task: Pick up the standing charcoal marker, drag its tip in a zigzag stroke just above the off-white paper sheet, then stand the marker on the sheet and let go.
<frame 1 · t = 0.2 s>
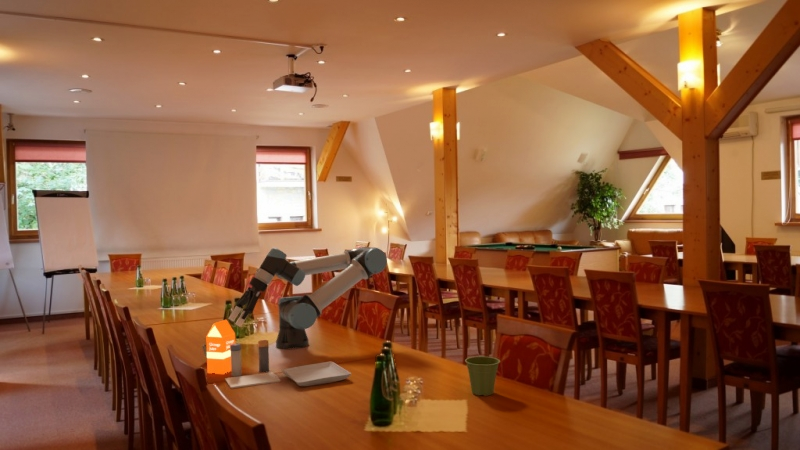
hand: (234, 322, 269), 16 cm above the table, tool tilted 35°, fingers open, 13 cm apart
salad plate: (316, 380, 236), on the table
flower pot: (215, 361, 267), on the table
paper: (252, 380, 235), on the table
plant pot: (483, 393, 213), on the table
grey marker: (236, 375, 243), on the table
orange juice: (221, 371, 251), on the table
marker: (264, 371, 249), on the table
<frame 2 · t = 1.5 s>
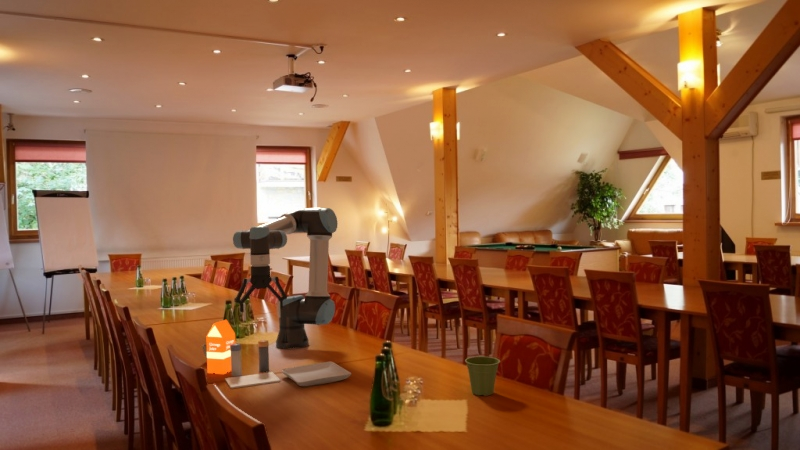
hand: (261, 318, 248), 21 cm above the table, tool pointing down, fingers open, 13 cm apart
nothing on the table moved.
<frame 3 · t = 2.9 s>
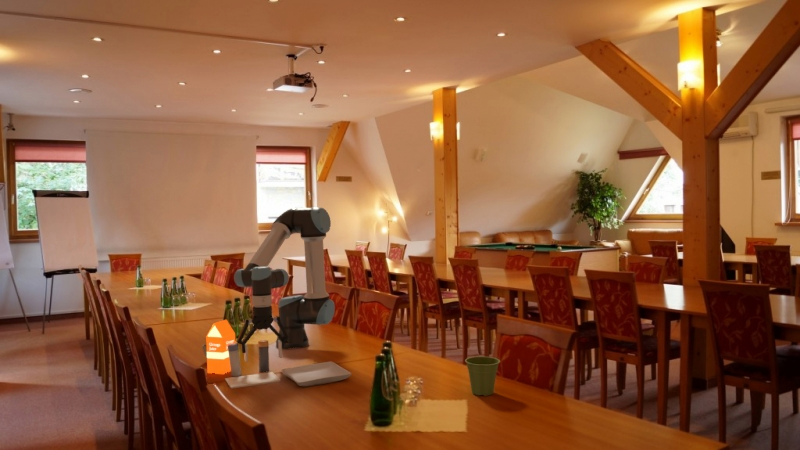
hand: (263, 359, 248), 5 cm above the table, tool pointing down, fingers open, 13 cm apart
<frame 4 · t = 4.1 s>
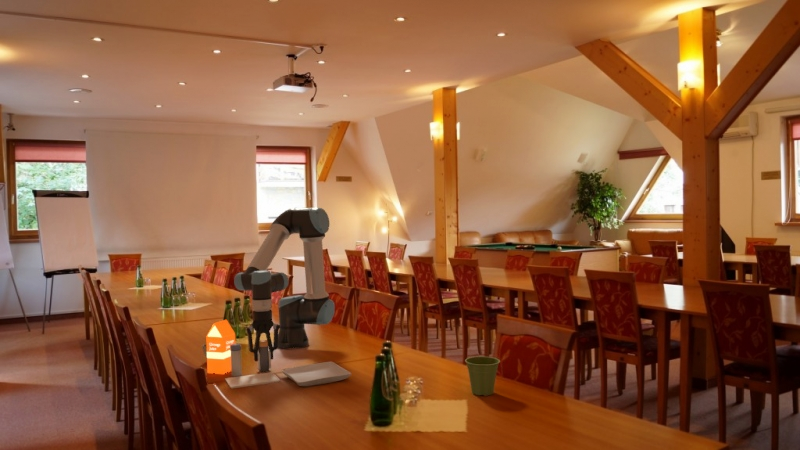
hand: (264, 368, 249), 1 cm above the table, tool pointing down, fingers closed on marker, 3 cm apart
marker: (264, 371, 249), on the table, touching gripper
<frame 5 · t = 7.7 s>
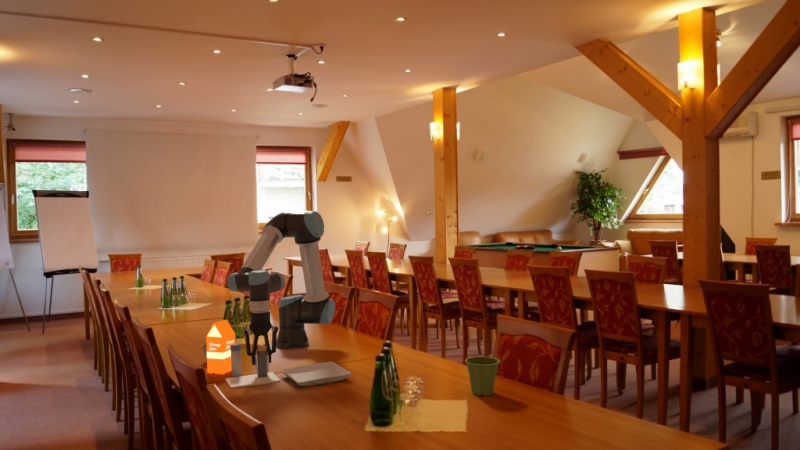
hand: (262, 372, 239), 2 cm above the table, tool pointing down, fingers closed on marker, 3 cm apart
marker: (262, 376, 239), point 1 cm above the table, touching gripper, paper
everything else where it was.
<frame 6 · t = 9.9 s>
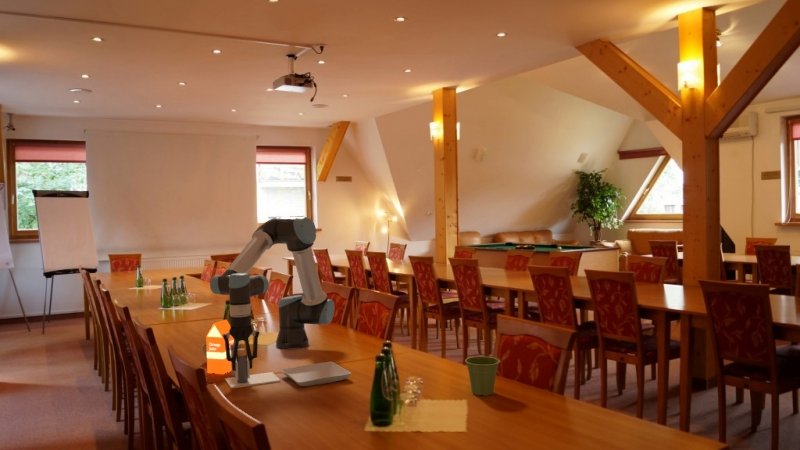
hand: (242, 378, 232), 2 cm above the table, tool pointing down, fingers closed on marker, 3 cm apart
marker: (242, 381, 232), point 1 cm above the table, touching gripper
everything else where it was.
when the fingers open (2 cm above the table, at t = 11.4 s): marker stays where it is, resting on paper.
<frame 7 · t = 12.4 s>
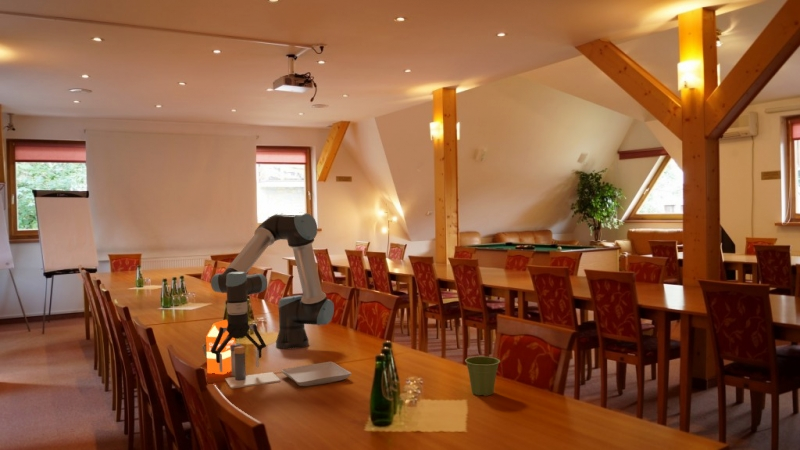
hand: (239, 368, 237), 4 cm above the table, tool pointing down, fingers open, 13 cm apart
marker: (240, 379, 235), point 1 cm above the table, touching paper
everything else where it was.
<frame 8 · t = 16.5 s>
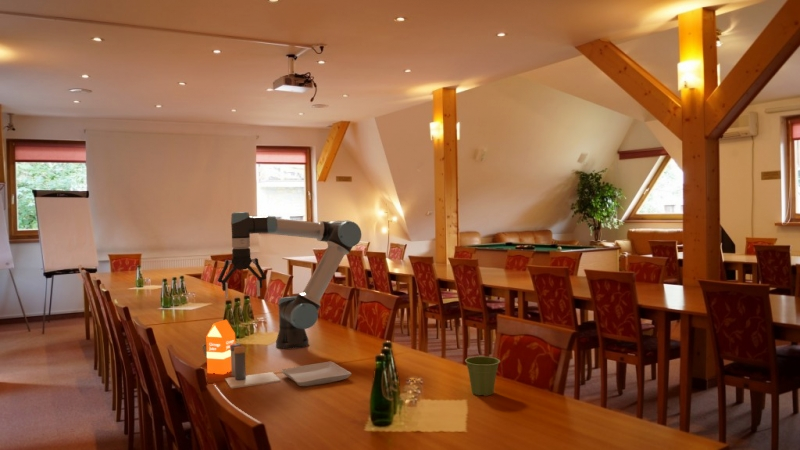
hand: (242, 297, 270), 27 cm above the table, tool pointing down, fingers open, 13 cm apart
nothing on the table moved.
at the end: marker inside the target area on the paper (4.6 cm from its centre), point 0.7 cm above the paper's base; marker tilted 2°; the gripper is holding nothing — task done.
